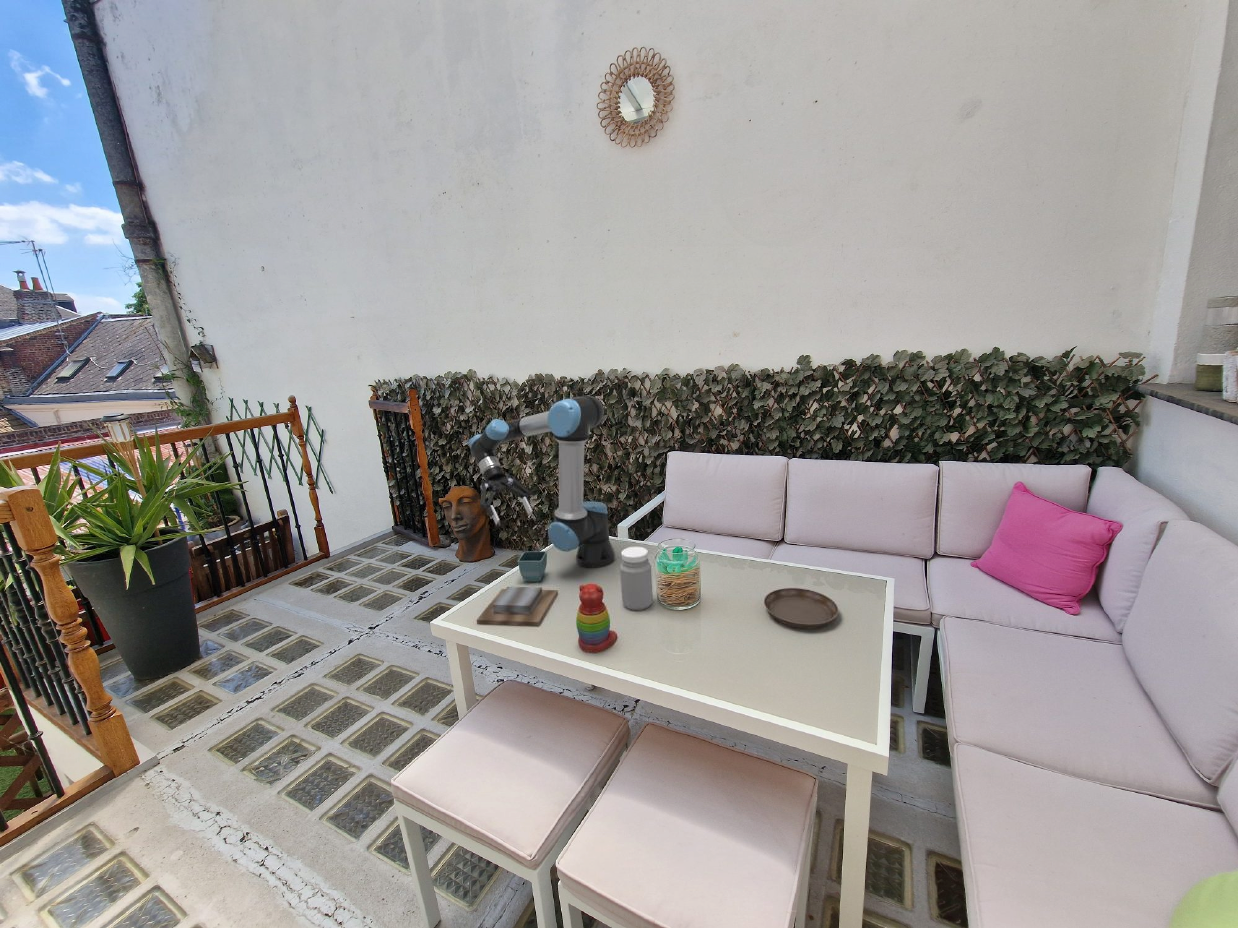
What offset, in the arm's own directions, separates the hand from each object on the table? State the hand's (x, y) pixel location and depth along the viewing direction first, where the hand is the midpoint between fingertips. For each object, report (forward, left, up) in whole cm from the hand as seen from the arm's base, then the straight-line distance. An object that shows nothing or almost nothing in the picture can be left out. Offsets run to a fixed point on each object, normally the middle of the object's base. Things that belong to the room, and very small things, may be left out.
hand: (514, 517), depth 186 cm
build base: (-10, +27, -21) cm, 36 cm away
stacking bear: (-39, +44, -22) cm, 63 cm away
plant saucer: (-97, +25, -22) cm, 102 cm away
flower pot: (-8, +6, -22) cm, 24 cm away
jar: (-48, +22, -22) cm, 57 cm away
